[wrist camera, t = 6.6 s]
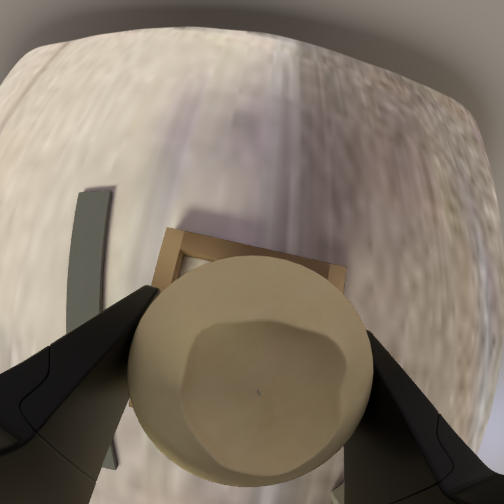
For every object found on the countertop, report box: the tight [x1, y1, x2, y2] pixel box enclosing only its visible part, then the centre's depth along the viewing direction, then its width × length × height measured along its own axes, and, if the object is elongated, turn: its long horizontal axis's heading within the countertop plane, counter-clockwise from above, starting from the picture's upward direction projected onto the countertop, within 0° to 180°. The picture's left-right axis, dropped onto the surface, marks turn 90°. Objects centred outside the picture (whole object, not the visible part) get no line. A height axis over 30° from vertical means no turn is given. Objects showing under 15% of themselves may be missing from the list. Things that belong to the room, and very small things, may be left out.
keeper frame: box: [129, 227, 347, 408], centre depth 15 cm, size 10×10×2 cm
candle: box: [127, 255, 373, 487], centre depth 9 cm, size 6×6×10 cm
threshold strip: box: [66, 190, 117, 470], centre depth 14 cm, size 18×2×1 cm, turn 1°
